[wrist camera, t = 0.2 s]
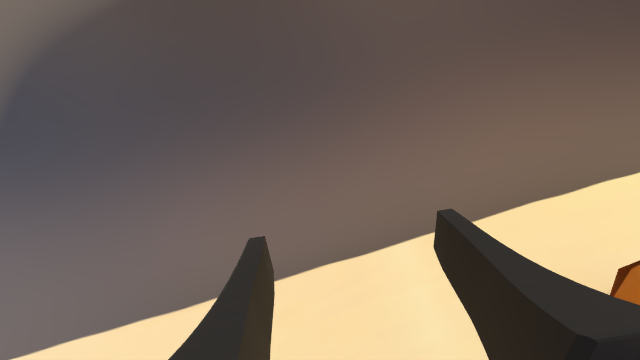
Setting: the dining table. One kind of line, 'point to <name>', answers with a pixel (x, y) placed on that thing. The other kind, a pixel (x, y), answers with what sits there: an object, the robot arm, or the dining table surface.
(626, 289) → the toy
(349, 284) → the dining table surface
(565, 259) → the dining table surface
